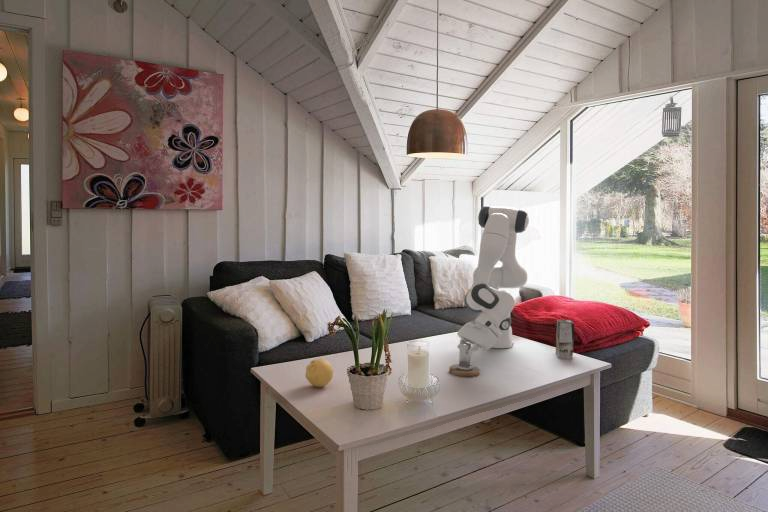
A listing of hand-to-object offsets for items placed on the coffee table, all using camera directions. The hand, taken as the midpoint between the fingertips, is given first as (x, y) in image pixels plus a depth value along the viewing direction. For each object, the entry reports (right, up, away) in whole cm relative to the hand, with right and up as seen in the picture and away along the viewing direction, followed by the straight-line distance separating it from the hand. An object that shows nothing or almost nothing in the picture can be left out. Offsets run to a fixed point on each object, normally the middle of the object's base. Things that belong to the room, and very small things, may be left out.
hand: (463, 350), depth 203 cm
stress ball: (-55, -10, -19) cm, 59 cm away
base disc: (0, -9, +1) cm, 9 cm away
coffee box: (+50, -8, +28) cm, 58 cm away
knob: (0, -7, +1) cm, 7 cm away
